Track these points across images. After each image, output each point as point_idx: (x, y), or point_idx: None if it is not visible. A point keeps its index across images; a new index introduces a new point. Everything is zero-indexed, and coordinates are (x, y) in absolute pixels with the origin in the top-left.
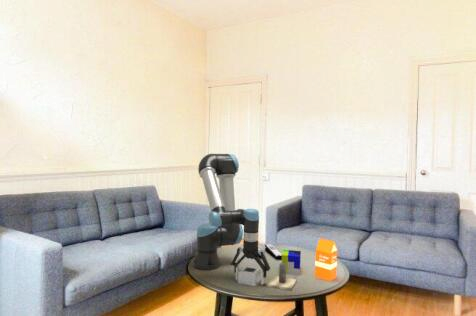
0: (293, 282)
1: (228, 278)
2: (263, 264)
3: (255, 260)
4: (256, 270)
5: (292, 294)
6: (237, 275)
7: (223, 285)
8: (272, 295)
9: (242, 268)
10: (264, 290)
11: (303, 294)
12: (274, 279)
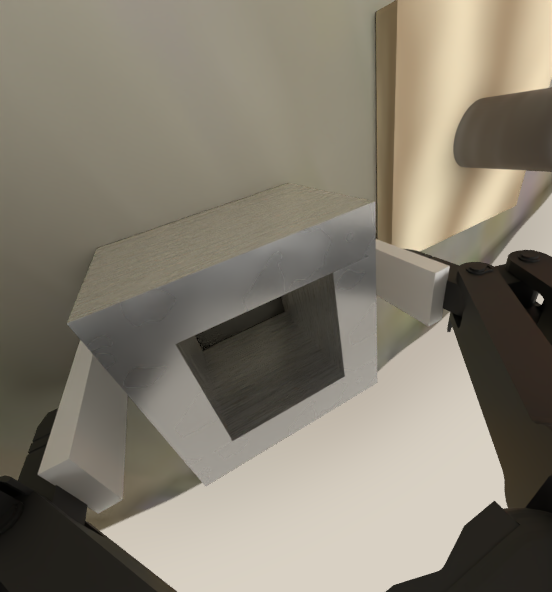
0: (543, 86)
1: (11, 406)
2: (522, 318)
3: (506, 491)
4: (352, 313)
5: (497, 239)
6: (122, 394)
7: (135, 478)
8: (421, 322)
9: (167, 418)
10: (377, 314)
11: (541, 197)
12: (419, 134)
